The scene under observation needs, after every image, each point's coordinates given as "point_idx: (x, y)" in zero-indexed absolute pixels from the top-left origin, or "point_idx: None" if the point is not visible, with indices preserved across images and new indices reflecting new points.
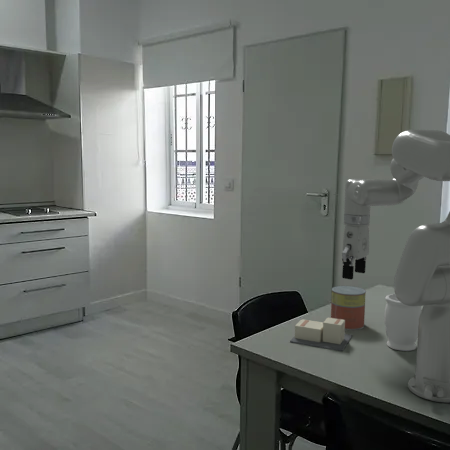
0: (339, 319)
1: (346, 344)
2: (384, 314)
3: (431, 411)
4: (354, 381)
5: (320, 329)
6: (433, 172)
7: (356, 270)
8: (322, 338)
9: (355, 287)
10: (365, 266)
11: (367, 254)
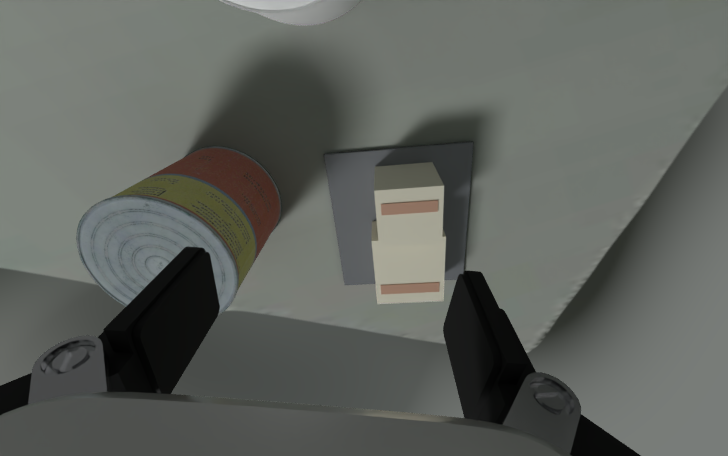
0: (384, 208)
1: (413, 146)
2: (327, 19)
3: None
4: (725, 26)
5: (444, 236)
6: None
7: (212, 310)
8: None
9: (90, 255)
10: (152, 280)
11: (95, 409)
